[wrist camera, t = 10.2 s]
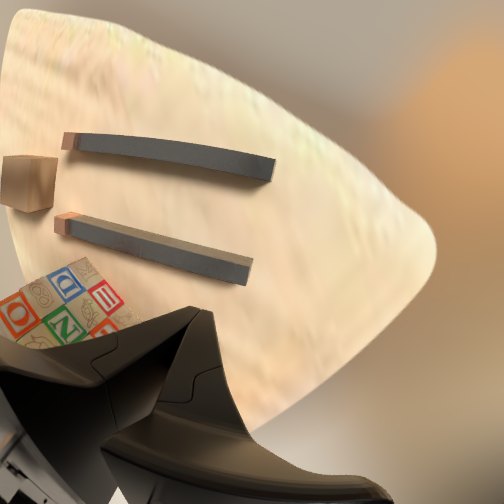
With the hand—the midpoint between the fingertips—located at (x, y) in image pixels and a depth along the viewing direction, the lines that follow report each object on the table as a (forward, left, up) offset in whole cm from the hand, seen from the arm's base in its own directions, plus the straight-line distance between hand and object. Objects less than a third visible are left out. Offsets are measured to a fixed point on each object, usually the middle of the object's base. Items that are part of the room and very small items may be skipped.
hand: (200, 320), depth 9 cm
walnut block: (+1, +23, -12) cm, 26 cm away
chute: (+2, +8, -12) cm, 15 cm away
